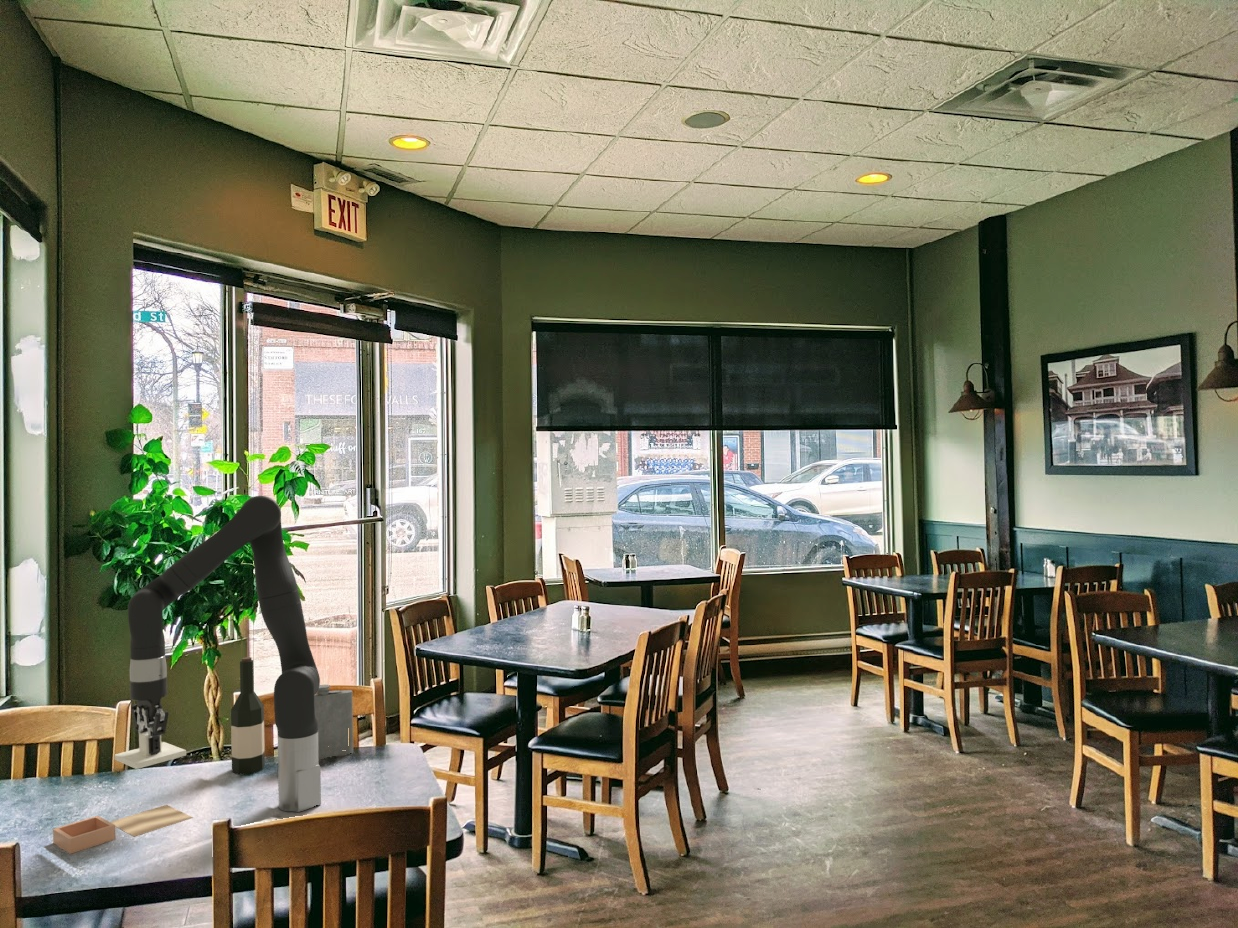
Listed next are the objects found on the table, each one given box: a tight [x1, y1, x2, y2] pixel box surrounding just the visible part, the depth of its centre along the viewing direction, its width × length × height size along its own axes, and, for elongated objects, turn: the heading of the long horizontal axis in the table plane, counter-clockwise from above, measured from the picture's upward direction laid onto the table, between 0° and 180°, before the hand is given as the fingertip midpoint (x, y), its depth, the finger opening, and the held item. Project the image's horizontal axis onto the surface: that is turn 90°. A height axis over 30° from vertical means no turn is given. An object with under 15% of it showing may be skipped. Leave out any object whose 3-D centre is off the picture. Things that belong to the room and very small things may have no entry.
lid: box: [114, 731, 187, 770], centre depth 204 cm, size 11×11×6 cm
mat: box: [109, 804, 194, 838], centre depth 204 cm, size 13×13×1 cm
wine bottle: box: [230, 656, 266, 775], centre depth 241 cm, size 8×8×30 cm
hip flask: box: [314, 684, 354, 761], centre depth 250 cm, size 16×4×20 cm, turn 124°
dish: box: [52, 815, 117, 855], centre depth 193 cm, size 9×9×4 cm
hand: (150, 751), depth 204 cm, fingers closed on lid, 3 cm apart
